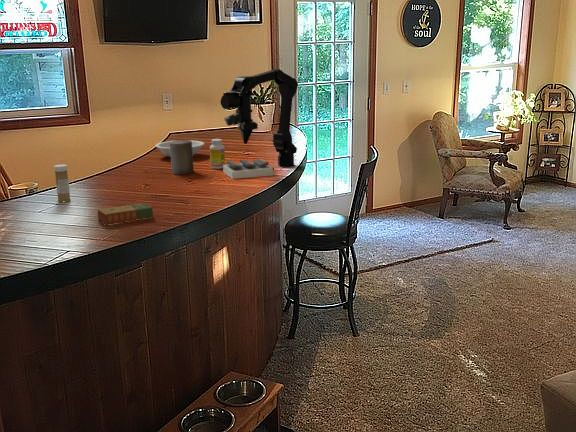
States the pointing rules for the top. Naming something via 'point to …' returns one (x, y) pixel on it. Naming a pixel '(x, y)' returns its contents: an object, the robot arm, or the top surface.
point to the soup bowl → (165, 146)
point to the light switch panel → (247, 171)
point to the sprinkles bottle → (62, 182)
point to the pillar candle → (181, 157)
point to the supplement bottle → (217, 154)
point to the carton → (125, 213)
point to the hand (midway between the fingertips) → (245, 143)
